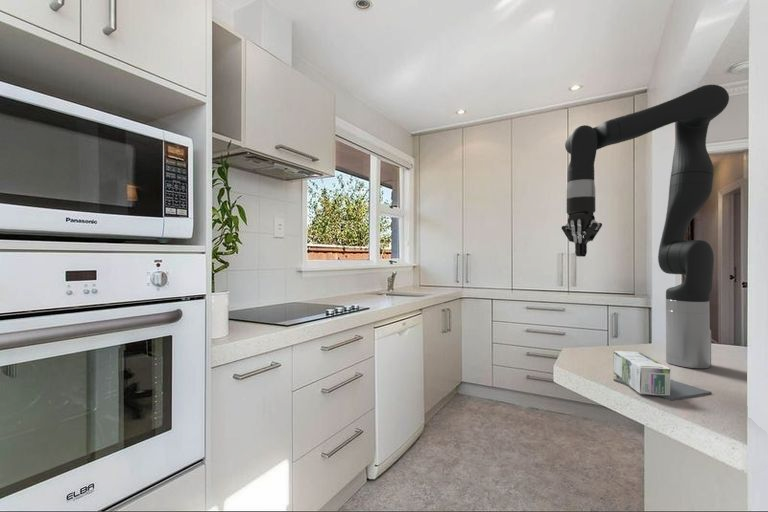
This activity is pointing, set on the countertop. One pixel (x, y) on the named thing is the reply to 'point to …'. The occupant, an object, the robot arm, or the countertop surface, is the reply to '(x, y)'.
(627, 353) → the syrup box
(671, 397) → the mat
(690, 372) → the countertop surface
